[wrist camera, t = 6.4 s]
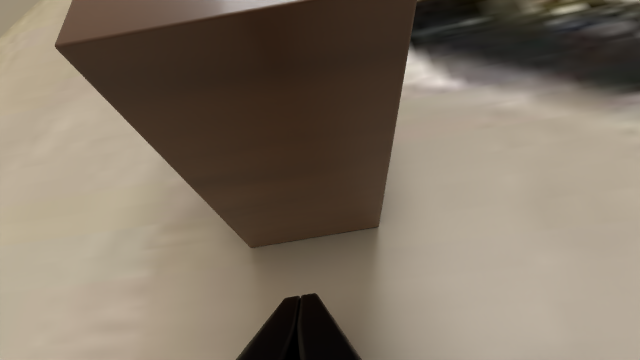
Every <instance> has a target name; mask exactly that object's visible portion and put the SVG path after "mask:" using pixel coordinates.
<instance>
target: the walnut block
mask: <svg viewBox="0 0 640 360" xmlns="http://www.w3.org/2000/svg"><path fill="white" fill-rule="evenodd" d="M416 2H417V0H72V3H71V5H70V8H69V10H68V13H67V15H66V18H65V20H64V23H63V25H62V28H61V30H60V33H59V36H58V38H57V41H56V43H55V47H56V49H57V50H58V51H59V52H60V53H61V54H62V55H63V56H64V57H65V58H66V59H67V60H68V61H69V62H70V63H71V64H72V65H73V66H74V67H75V68H76V69H77V70H78V71H79V72H80V73H81V74H82V75H83V77H84V78H85V79H86V80H87V81H88V82H89V83H90V84H91V85H92V86H93V87H94V88H95V89H96V90H97V91H98V92H99V93H100V94H101V95H102V96H103V97H104V98H105V99H106V100H107V101H108V102H109V103H110V104H111V105H112V106H113V107H114V108H115V109H116V110H117V111H118V112H119V113H120V114H121V115H122V116H123V117H124V119H125V120H126V121H127V122H128V123H129V124H130V125H131V126H132V127H133V128H134V129H135V130H136V131H137V132H138V133H139V134H140V135H141V136H142V137H143V138H144V139H145V140H146V141H147V142H148V143H149V144H150V145H151V146H152V147H153V148H154V149H155V150H156V151H157V152H158V153H159V154H160V155H161V156H162V157H163V158H164V159H165V160H166V162H167V163H168V164H169V165H170V166H171V167H172V168H173V169H174V170H175V171H176V172H177V173H178V174H179V175H180V176H181V177H182V178H183V179H184V180H185V181H186V182H187V183H188V184H189V185H190V186H191V187H192V188H193V189H194V190H195V191H196V192H197V193H198V194H199V195H200V196H201V197H202V198H203V199H204V200H205V201H206V202H207V204H208V205H209V206H210V207H211V208H212V209H213V210H214V211H215V212H216V213H217V214H218V215H219V216H220V217H221V218H222V219H223V220H224V221H225V222H226V223H227V224H228V225H229V226H230V227H231V228H232V229H233V230H234V231H235V232H236V233H237V234H238V235H239V236H240V237H241V238H242V239H243V240H244V241H245V242H246V243H247V244H248V246H249V247H250V248H253V247H259V246H265V245H271V244H277V243H283V242H289V241H295V240H301V239H307V238H313V237H319V236H325V235H331V234H337V233H343V232H349V231H355V230H361V229H367V228H373V227H378V226H379V221H380V215H381V210H382V204H383V198H384V192H385V186H386V180H387V174H388V168H389V162H390V156H391V150H392V144H393V139H394V133H395V127H396V121H397V115H398V109H399V103H400V97H401V91H402V85H403V79H404V73H405V68H406V62H407V56H408V50H409V44H410V38H411V32H412V26H413V20H414V14H415V8H416Z"/></svg>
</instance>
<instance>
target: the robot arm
mask: <svg viewBox="0 0 640 360" xmlns="http://www.w3.org/2000/svg"><path fill="white" fill-rule="evenodd" d="M236 360H362V359H361V358H360V356H359V355H358V354H357V352H356V351H355V349H354V348H353V346H352V345H351V343H350V342H349V340H348V339H347V337H346V336H345V335H344V333H343V332H342V330H341V329H340V327H339V326H338V324H337V323H336V321H335V320H334V318H333V317H332V315H331V314H330V313H329V311H328V310H327V308H326V307H325V305H324V304H323V302H322V301H321V299H320V298H319V296H318V295H317V294H316V293H313V294H307V295H302V296H301V298H300V296H295V297H288V298H285V299H284V300H283V301H282V302H281V303H280V305H279V306H278V307H277V308H276V310H275V311H274V312H273V314H272V315H271V316H270V317H269V319H268V320H267V321H266V322H265V324H264V325H263V326H262V327H261V329H260V330H259V331H258V332H257V334H256V335H255V336H254V337H253V339H252V340H251V341H250V342H249V344H248V345H247V346H246V347H245V349H244V350H243V351H242V353H241V354H240V355H239V356H238V358H237V359H236Z"/></svg>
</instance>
